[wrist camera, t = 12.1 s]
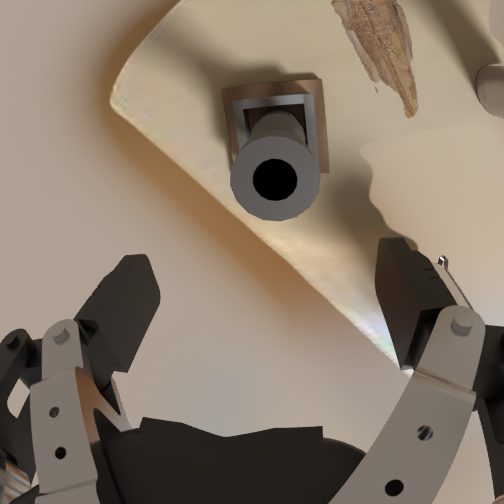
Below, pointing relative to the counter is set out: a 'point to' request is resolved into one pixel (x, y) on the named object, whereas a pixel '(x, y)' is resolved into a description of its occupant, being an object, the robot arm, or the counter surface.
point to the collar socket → (278, 97)
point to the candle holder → (275, 169)
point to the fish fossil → (381, 44)
